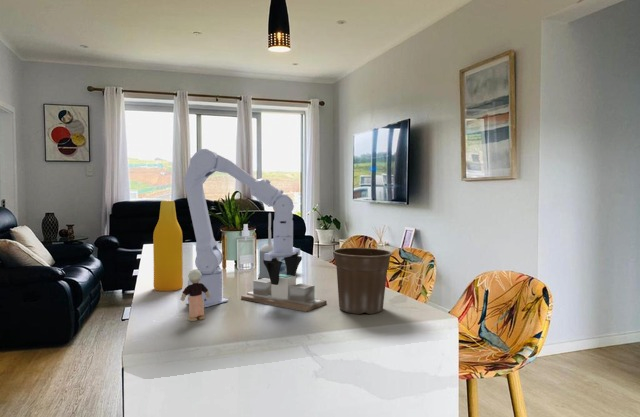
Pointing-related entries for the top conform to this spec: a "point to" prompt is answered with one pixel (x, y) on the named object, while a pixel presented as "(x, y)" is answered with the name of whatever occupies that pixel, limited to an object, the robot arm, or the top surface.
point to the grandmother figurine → (195, 296)
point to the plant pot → (361, 279)
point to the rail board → (299, 299)
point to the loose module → (283, 286)
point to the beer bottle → (168, 250)
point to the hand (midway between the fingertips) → (282, 282)
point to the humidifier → (266, 249)
